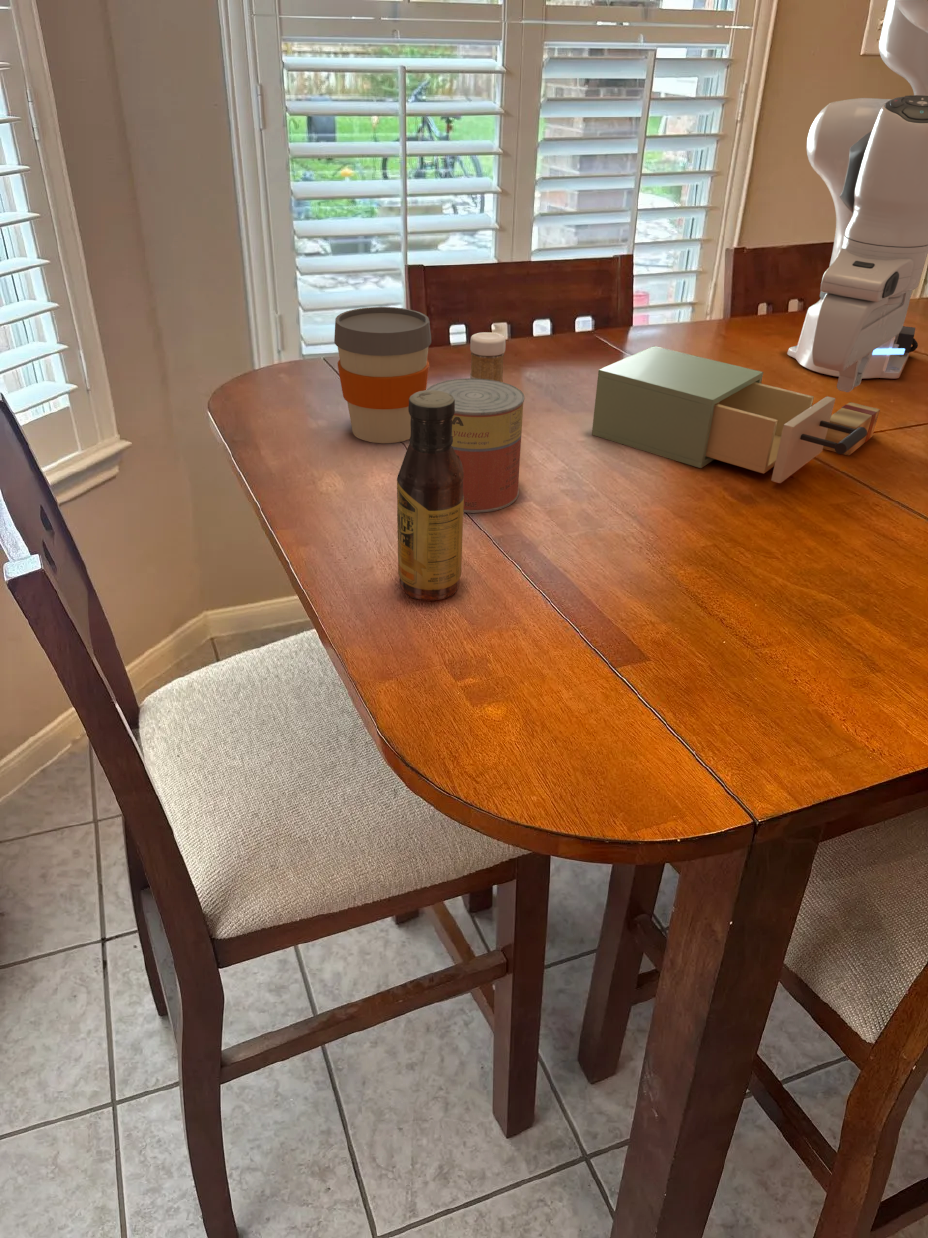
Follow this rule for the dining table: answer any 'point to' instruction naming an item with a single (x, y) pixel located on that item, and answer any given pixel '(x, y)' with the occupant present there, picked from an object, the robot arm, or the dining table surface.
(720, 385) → the cabinet
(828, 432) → the tan and red block
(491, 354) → the sprinkles bottle
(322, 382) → the dining table surface
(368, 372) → the reusable coffee cup
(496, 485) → the canned food
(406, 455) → the sauce bottle
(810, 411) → the drawer
